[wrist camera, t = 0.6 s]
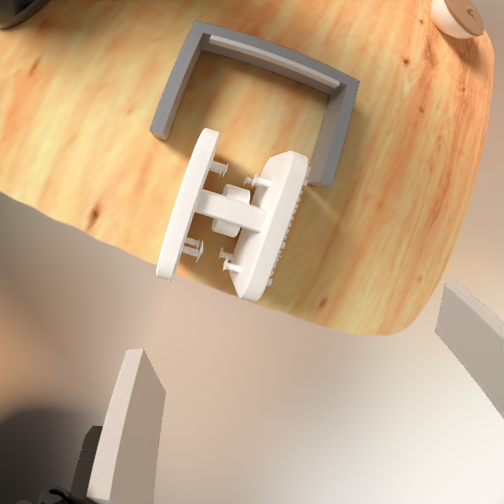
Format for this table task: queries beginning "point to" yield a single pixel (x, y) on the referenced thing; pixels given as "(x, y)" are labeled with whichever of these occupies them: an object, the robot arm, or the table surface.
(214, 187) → the table surface
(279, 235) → the cable organizer
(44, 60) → the table surface
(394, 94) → the table surface
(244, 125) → the table surface
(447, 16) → the lidded jar
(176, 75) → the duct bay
